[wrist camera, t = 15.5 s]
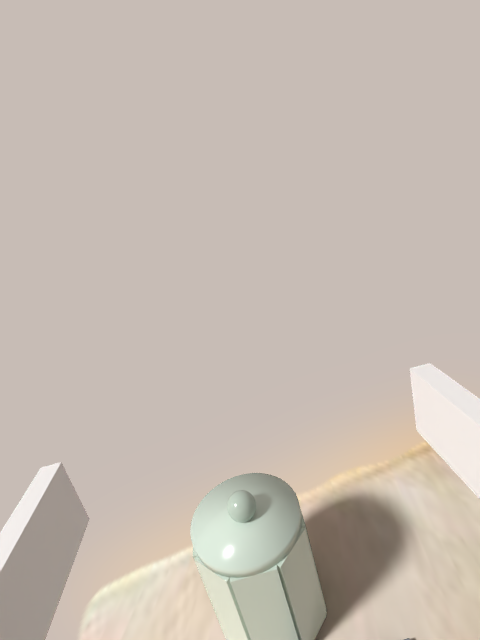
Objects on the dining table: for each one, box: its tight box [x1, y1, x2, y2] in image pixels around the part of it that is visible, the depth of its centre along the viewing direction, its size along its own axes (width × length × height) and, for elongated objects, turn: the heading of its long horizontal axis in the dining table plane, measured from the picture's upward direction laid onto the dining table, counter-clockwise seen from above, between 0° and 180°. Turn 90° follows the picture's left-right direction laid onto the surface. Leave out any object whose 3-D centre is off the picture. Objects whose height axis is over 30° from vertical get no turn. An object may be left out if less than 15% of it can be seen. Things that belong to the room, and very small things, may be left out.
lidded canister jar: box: [191, 473, 327, 640], centre depth 35 cm, size 10×10×14 cm
